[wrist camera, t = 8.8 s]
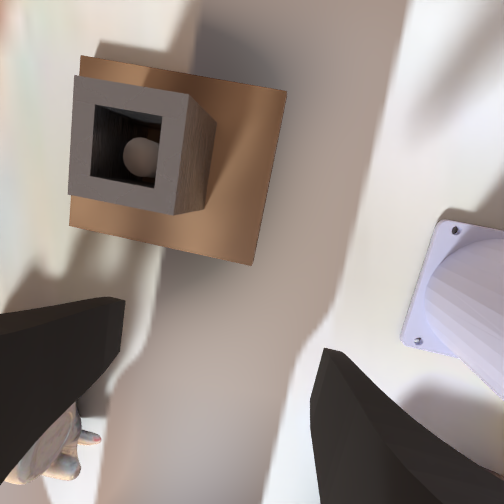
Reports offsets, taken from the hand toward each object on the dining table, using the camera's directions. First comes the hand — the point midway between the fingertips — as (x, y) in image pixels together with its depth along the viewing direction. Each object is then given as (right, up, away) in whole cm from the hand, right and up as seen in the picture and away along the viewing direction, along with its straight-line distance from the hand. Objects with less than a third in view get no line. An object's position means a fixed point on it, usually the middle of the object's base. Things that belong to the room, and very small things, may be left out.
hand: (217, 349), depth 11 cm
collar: (-4, +9, +7) cm, 12 cm away
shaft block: (-4, +9, +8) cm, 13 cm away
